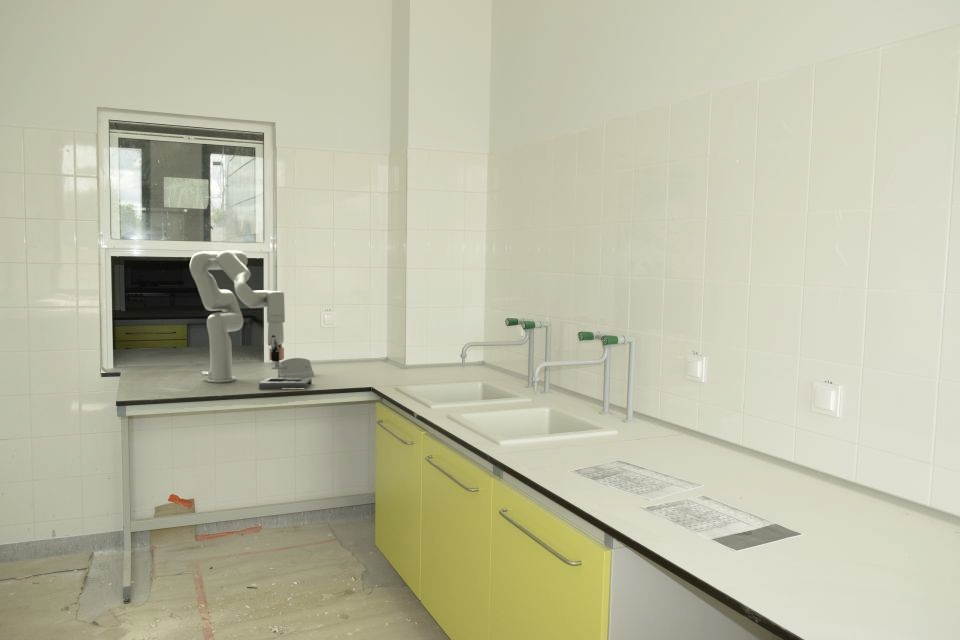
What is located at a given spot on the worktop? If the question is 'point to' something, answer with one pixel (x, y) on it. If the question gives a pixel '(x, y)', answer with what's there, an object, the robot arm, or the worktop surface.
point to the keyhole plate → (284, 383)
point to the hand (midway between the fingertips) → (277, 359)
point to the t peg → (281, 357)
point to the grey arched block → (295, 368)
